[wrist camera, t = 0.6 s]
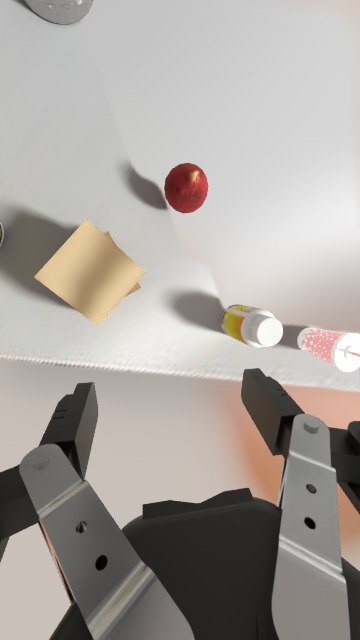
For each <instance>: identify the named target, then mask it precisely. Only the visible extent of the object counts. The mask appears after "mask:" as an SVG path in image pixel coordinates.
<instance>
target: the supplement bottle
mask: <svg viewBox="0 0 360 640" xmlns="http://www.w3.org/2000/svg"><path fill="white" fill-rule="evenodd" d="M221 326H222V329H223V331H224V332H225V333H226V334H227V335H229V336H231V337H233V338H235V339H237V340H239V341H241V342H243V343H245V344H247V345H249V346H251V347H255V348H261V347H265V346H266V347H271V346H274V345H275V344H277V343H278V342H279V341H280V339H281V337H282V335H283V327H282V324H281V322H280V321H279V320H278V319H276V318H275V317H274V316H273V314H272V313H271V312H269V311H267V310H264V309H260V308H254V307H248V306H243V305H232V306H230V307H228V308H227V309H226V310H225V311H224V313H223V314H222V317H221Z"/></svg>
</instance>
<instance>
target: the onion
mask: <svg viewBox="0 0 360 640" xmlns="http://www.w3.org/2000/svg"><path fill="white" fill-rule="evenodd" d="M164 190H165V196H166V199H167V201H168V203H169V204H170V206H172V207H173V208H174V209H175V210H176V211H179V212H181V213H190V212H194V211H195V210H197V209H198V208H199V207H201V206H202V204H203V202H204V200H205V199H206V197H207V191H208V183H207V178H206V176H205V174H204V172H203V170H202V169H200V168H199V167H198V166H196V165H194V164H190V163H185V164H180V165H178V166H176V167H175V168H173V169H172V170H171V171H170V173H169V175H168V176H167V178H166V180H165V187H164Z"/></svg>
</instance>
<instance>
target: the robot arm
mask: <svg viewBox="0 0 360 640" xmlns="http://www.w3.org/2000/svg"><path fill="white" fill-rule="evenodd" d="M24 2H25V3H26V4H27V5H28V6H29V7H30V8H31V9H32V10H33V11H34V12H35V13H37V14H38V15H40V16H41V17H43V18H44V19H46V20H49V21H51V22H54V23H59V24H71V23H74V22H77V21H79V20H81V19H82V18H84V16H85V15H86V14H87V13H88V12H89V10H90V8H91V5H92V2H93V0H24ZM241 397H242V401H243V404H244V405H245V407H246V409H247V411H248V412H249V414H250V416H251V418H252V420H253V421H254V423H255V425H256V427H257V428H258V430H259V432H260V433H261V435H262V437H263V438H264V441H265V442H266V444H267V446H268V448H269V449H270V451H271V453H272V455H273V456H275V455H283V457H284V458H285V459H284V463H283V469H282V476H281V482H280V489H279V495H278V501H277V506H276V505H274V504H272V503H270V502H268V501H266V500H263V499H259V498H256V497H252V494H251V492H250V489H249V488H243V489H237V490H231V491H224V492H222V493H220V494H218V495H216V496H214V497H212V498H210V499H208V500H206V501H204V502H202V503H189V502H180V501H172V500H168V501H162V502H156V503H150V504H143V515H141V516H139V517H137V518H135V519H134V520H132V521H131V522H129V523H128V524H127V525H126V526H125V527H124V528H123V529H122V530H120V528H119V527H118V525H117V524H116V522H115V521H114V519H113V518H112V516H111V515H110V514H109V512H108V510H107V509H106V508H105V506H104V504H103V503H102V502H101V500H100V499H99V497H98V496H97V494H96V493H95V491H94V490H93V488H92V487H91V485H90V484H89V483H88V481H86V480H84V479H85V474H86V469H87V465H88V460H89V455H90V451H91V446H92V442H93V437H94V433H95V428H96V423H97V419H98V404H97V398H96V391H95V385H94V383H93V382H89V383H78V384H77V386H76V388H75V391H74V393H73V394H70V395H66V396H65V397H63V398H62V399H61V400H60V402H58V404H57V407H56V409H55V412H54V413H53V415H52V418H51V420H50V422H49V424H48V427H47V429H46V431H45V433H44V435H43V437H42V440H41V442H40V444H39V446H38V447H37V448H35V449H33V450H32V451H30V452H29V453H28V454H27V455H26V456H25V457H24V458H23V460H22V461H21V463H20V464H19V465H18V466H15V467H13V468H11V469H8V470H5V471H3V472H0V562H1V559H2V556H3V553H4V551H5V548H6V545H7V542H8V540H9V537H10V536H11V535H13V534H15V533H17V532H19V531H22V530H23V529H26V528H28V527H30V526H32V525H34V524H36V523H38V525H39V527H40V530H41V532H42V534H43V537H44V539H45V541H46V544H47V546H48V548H49V551H50V553H51V556H52V558H53V561H54V563H55V565H56V568H57V570H58V573H59V576H60V578H61V581H62V583H63V586H64V588H65V591H66V593H67V596H68V598H69V600H70V603H71V606H70V608H69V609H68V611H67V612H66V614H65V615H64V617H63V619H62V620H61V622H60V623H59V625H58V627H57V628H56V630H55V631H54V633H53V634H52V636H51V637H50V639H49V640H360V571H358V570H357V569H356V568H355V567H353V566H352V565H351V564H350V563H349V562H347V561H346V560H345V559H343V558H342V557H341V548H340V532H339V514H338V498H337V483H338V484H339V485H340V487H341V488H342V490H343V491H344V492H345V494H346V495H347V497H348V498H349V500H350V501H351V503H352V504H353V506H354V507H355V508H356V510H357V511H358V513H359V514H360V421H353V422H351V423H350V424H349V425H348V428H347V430H344V429H337V428H330V427H328V426H327V425H326V424H325V423H324V422H323V421H322V420H320V419H319V418H317V417H315V416H312V415H309V414H305V413H304V412H303V411H302V410H301V408H300V407H299V406H298V405H297V404H296V402H295V401H294V400H293V399H292V398H291V397H290V396H289V395H288V393H287V392H286V391H285V390H284V389H283V387H282V386H281V385H280V384H279V383H278V382H277V381H276V380H274V379H272V378H271V377H266V376H265V375H264V373H263V372H262V371H261V370H260V369H259V368H256V369H245V370H244V373H243V382H242V391H241Z"/></svg>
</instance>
